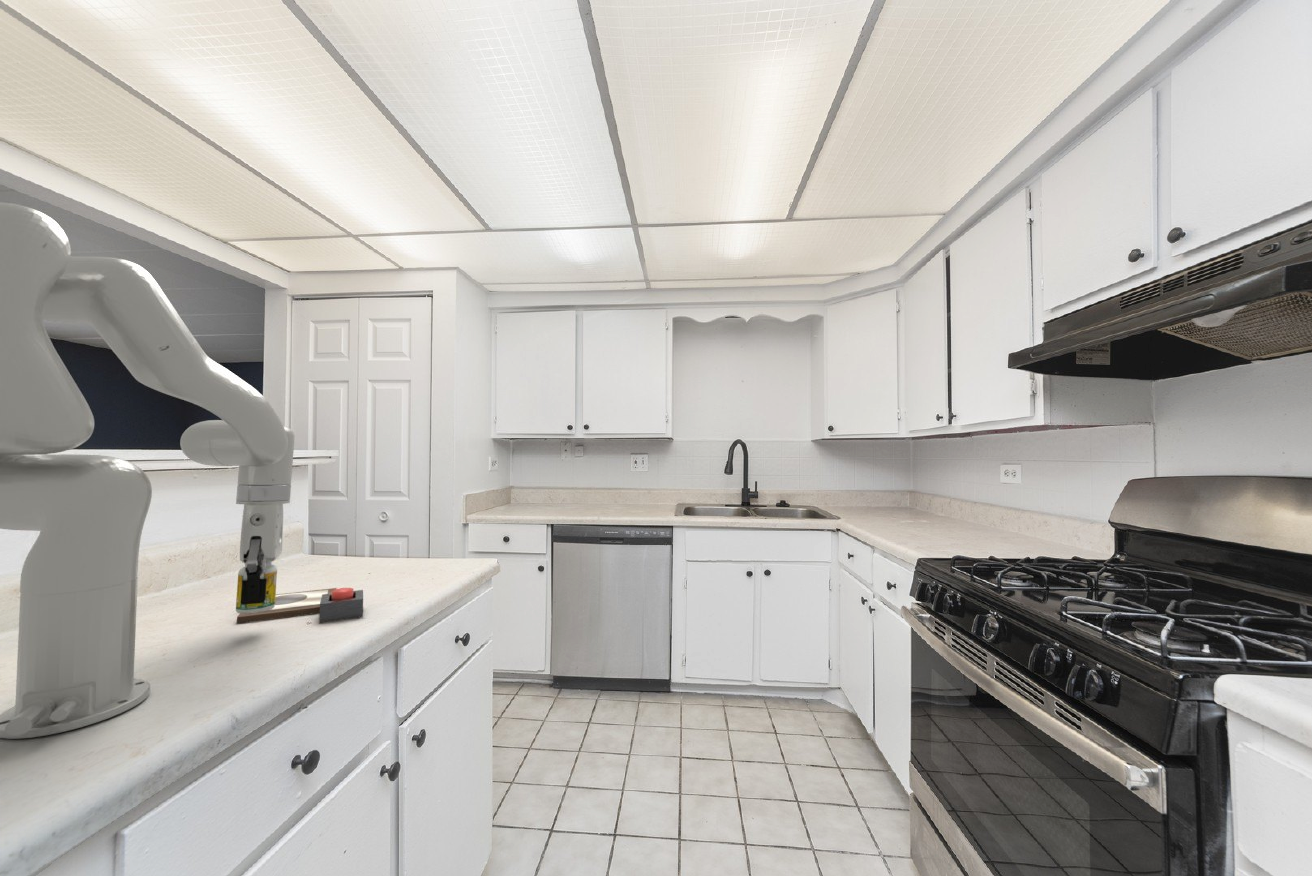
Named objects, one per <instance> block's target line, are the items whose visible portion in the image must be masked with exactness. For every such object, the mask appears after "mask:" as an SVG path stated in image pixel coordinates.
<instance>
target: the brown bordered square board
mask: <svg viewBox="0 0 1312 876" xmlns="http://www.w3.org/2000/svg"><path fill="white" fill-rule="evenodd" d="M335 589H338V588H337V587H333V588H332V587H331V588H323V589H313V590H305V591H298V592H297V591H295V592H289V593H288V592H287V593H277V594H276V596H275V606H274V608H273V609H271V610H268V611H264V612H259V613H251V614H240V613H238V615H237V617H236V624H246V623H253V622H261V621H268V620H269V621H270V620H276V619H284V618H293V617H301V616H308V615H315V614H320V602H321V598H322V594H331V593H332V591H333V590H335Z"/></svg>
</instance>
